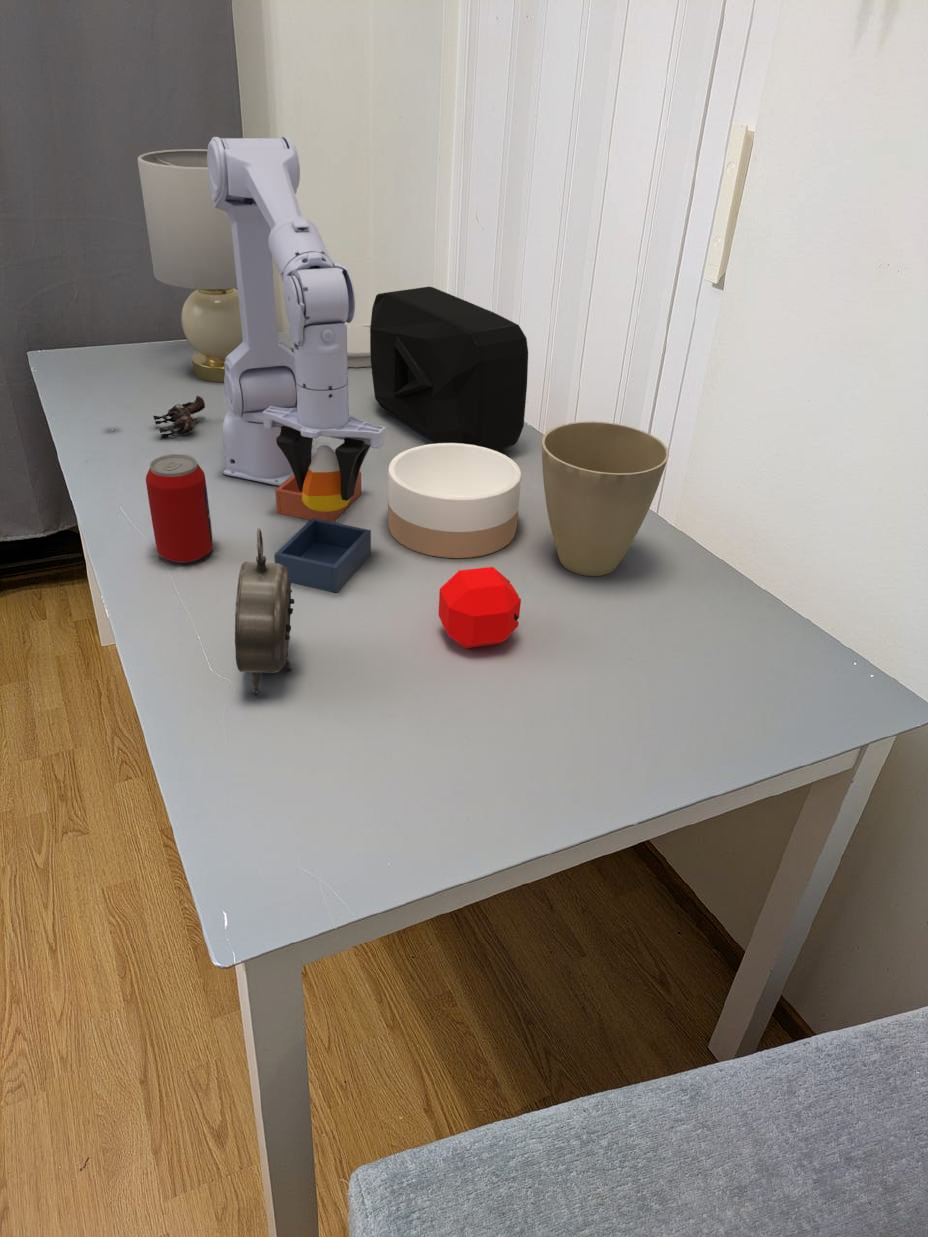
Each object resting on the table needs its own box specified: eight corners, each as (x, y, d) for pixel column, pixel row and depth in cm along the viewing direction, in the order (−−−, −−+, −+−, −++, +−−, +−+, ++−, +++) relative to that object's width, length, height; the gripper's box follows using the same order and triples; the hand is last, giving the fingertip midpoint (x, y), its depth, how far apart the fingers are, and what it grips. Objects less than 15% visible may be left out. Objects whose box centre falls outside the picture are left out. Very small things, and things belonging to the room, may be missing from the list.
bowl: (421, 569, 113) (423, 509, 108) (367, 509, 125) (367, 453, 120) (540, 543, 120) (546, 485, 115) (478, 489, 132) (481, 434, 127)
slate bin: (276, 578, 109) (274, 554, 107) (313, 541, 117) (312, 517, 115) (337, 592, 107) (336, 568, 106) (371, 553, 115) (371, 530, 113)
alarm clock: (249, 638, 99) (236, 504, 90) (300, 638, 99) (292, 504, 90) (237, 703, 90) (221, 560, 81) (293, 702, 90) (283, 561, 81)
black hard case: (522, 456, 143) (534, 327, 131) (459, 473, 136) (466, 339, 125) (413, 395, 162) (415, 278, 151) (353, 407, 156) (351, 287, 145)
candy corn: (349, 499, 112) (348, 438, 108) (353, 510, 110) (352, 448, 105) (300, 503, 111) (297, 441, 106) (303, 514, 108) (300, 452, 104)
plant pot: (509, 543, 119) (520, 428, 110) (608, 527, 124) (625, 415, 116) (564, 603, 108) (581, 480, 99) (669, 581, 113) (694, 463, 104)
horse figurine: (125, 464, 139) (220, 433, 143) (116, 442, 137) (213, 411, 141) (114, 436, 145) (205, 407, 149) (105, 414, 142) (198, 385, 146)
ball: (522, 652, 99) (529, 593, 95) (452, 662, 97) (455, 601, 93) (499, 612, 106) (504, 555, 101) (433, 620, 104) (435, 562, 99)
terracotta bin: (276, 512, 123) (275, 489, 121) (310, 483, 131) (309, 461, 129) (330, 524, 121) (329, 501, 119) (361, 493, 129) (361, 471, 127)
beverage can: (224, 546, 115) (214, 457, 108) (194, 571, 110) (182, 480, 103) (178, 535, 117) (165, 447, 110) (146, 559, 111) (131, 469, 105)
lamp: (175, 353, 174) (149, 146, 155) (282, 354, 177) (270, 151, 157) (158, 390, 158) (126, 164, 138) (276, 391, 160) (261, 169, 140)
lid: (291, 340, 184) (290, 325, 182) (390, 339, 188) (390, 324, 186) (296, 369, 170) (295, 353, 168) (402, 367, 174) (403, 351, 172)
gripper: (245, 382, 100) (255, 494, 107) (367, 404, 96) (368, 518, 104) (276, 363, 106) (283, 471, 113) (393, 383, 102) (392, 493, 110)
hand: (326, 492), depth 109 cm, fingers closed on candy corn, 5 cm apart
